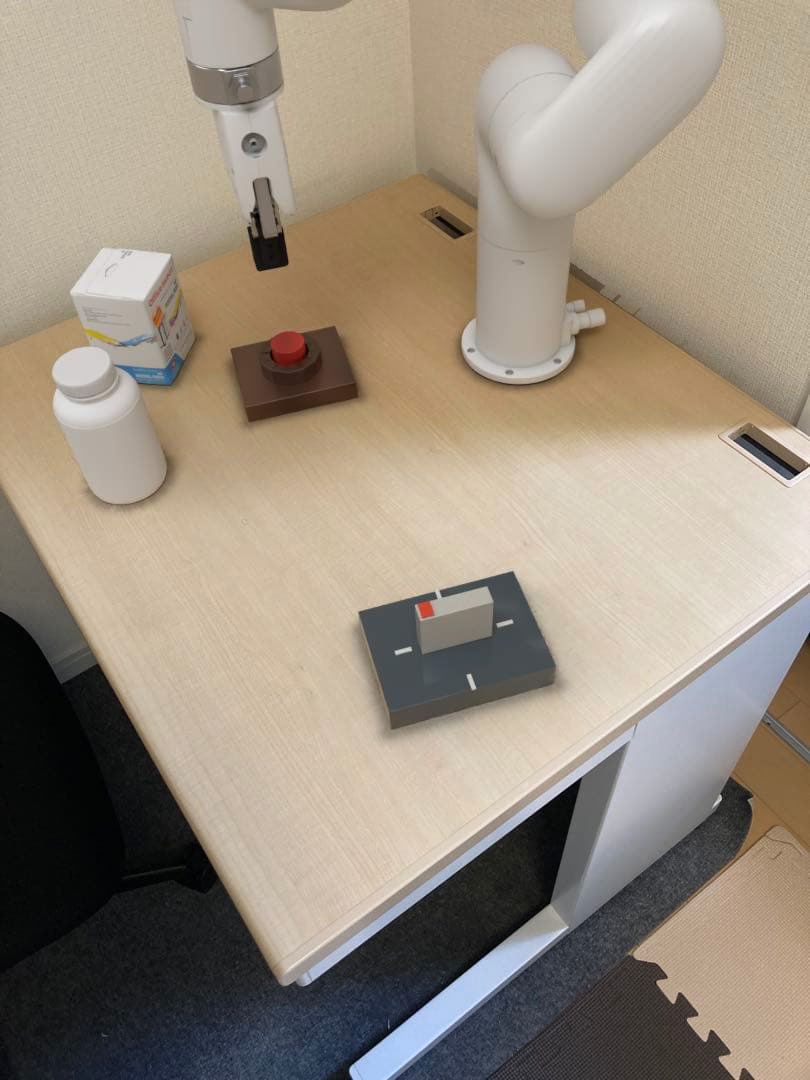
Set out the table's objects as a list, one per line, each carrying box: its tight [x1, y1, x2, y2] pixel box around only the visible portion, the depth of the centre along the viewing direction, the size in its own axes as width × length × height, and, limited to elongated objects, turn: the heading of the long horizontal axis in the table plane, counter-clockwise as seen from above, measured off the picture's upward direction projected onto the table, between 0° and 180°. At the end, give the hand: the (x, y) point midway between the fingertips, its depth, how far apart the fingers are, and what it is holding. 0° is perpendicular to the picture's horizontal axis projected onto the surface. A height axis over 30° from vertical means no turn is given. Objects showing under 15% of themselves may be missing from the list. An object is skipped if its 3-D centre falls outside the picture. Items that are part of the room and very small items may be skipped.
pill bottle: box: [51, 346, 168, 505], centre depth 87 cm, size 8×8×15 cm
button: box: [271, 330, 306, 365], centre depth 97 cm, size 4×4×2 cm
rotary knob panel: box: [357, 570, 557, 731], centre depth 76 cm, size 14×10×3 cm
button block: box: [230, 325, 359, 423], centre depth 99 cm, size 12×10×4 cm
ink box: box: [69, 247, 196, 386], centre depth 99 cm, size 9×8×12 cm
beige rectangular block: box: [415, 586, 493, 654], centre depth 73 cm, size 6×2×5 cm, turn 106°
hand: (271, 263), depth 89 cm, fingers closed
